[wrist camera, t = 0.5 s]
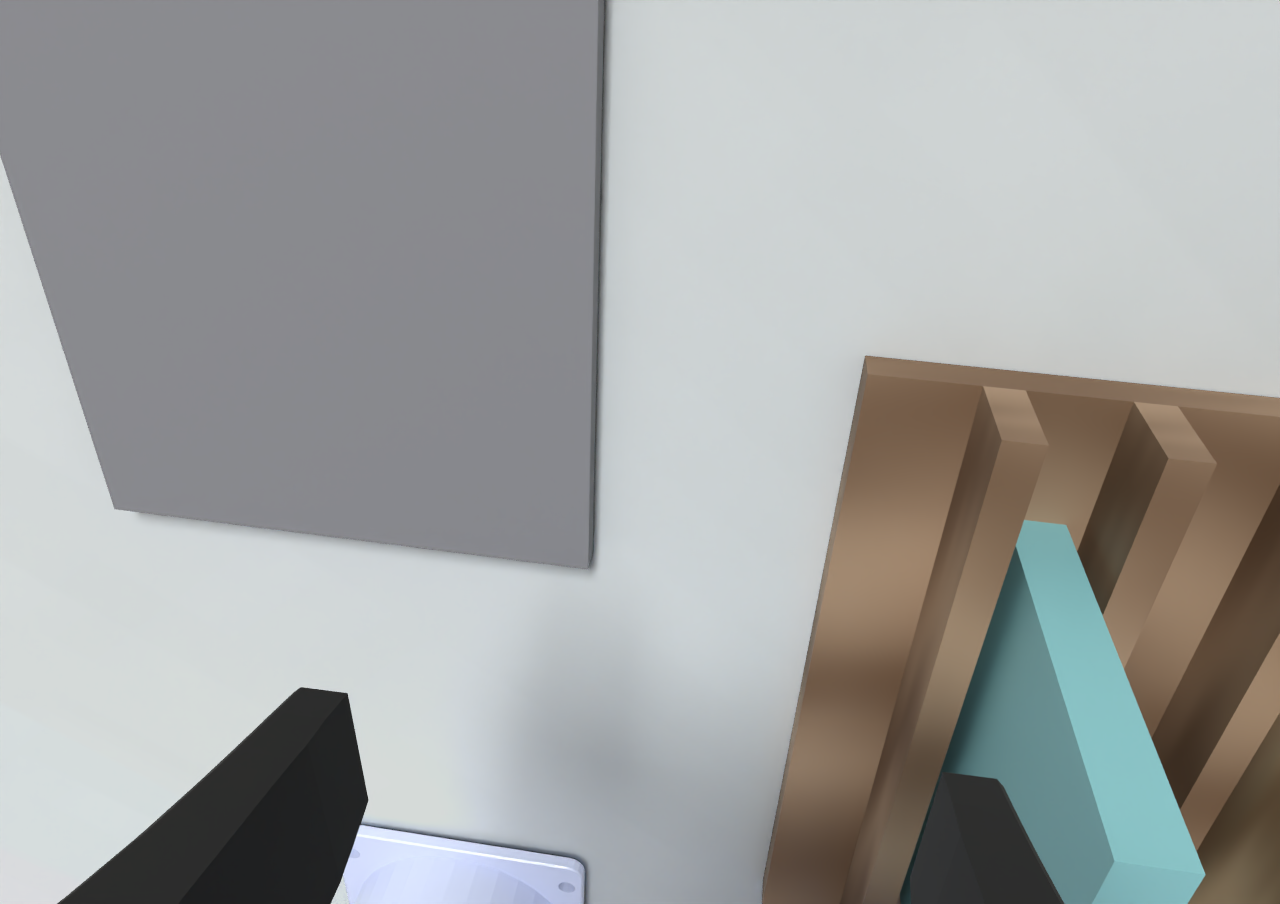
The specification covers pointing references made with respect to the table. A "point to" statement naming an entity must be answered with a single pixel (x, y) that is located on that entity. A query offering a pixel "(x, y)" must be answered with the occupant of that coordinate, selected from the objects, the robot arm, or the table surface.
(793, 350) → the table surface
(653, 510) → the table surface
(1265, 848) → the board
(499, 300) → the mat
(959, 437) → the rack
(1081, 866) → the sheet
